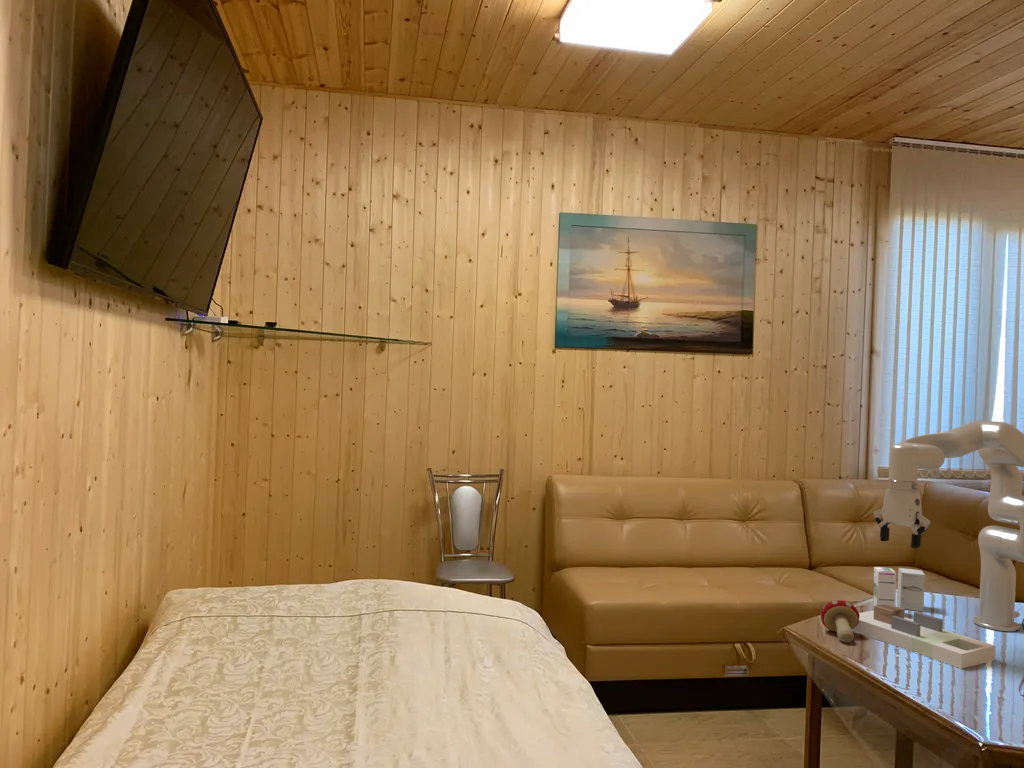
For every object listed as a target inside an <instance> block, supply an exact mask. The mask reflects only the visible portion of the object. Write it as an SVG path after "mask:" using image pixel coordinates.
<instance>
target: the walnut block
mask: <svg viewBox="0 0 1024 768" xmlns="http://www.w3.org/2000/svg"><path fill="white" fill-rule="evenodd" d="M873 610H874V619H875V620H878V621H881V622H884V623H887V624H890V625H891V621H892V616H897V617H900V618H903V619H904V617H905V610H906V609H902V608H899V606H898V607H897V606H896V605H895V606H892V605H889V604H883V605H877V606H874V609H873Z"/></svg>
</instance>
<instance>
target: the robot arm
mask: <svg viewBox="0 0 1024 768" xmlns="http://www.w3.org/2000/svg"><path fill="white" fill-rule="evenodd" d="M976 451H977V452H978V455H979V457H980V458H981V459H982V461H983V462H984V463H985V464H986V466H987V468H988V469H989V474H990V488H989V496H988V505H987V511H988V512H987V513H988V516H989V517H990V518H991V519H992V520H993V521H996V522H1000V523H1005V524H1009V525H1014V526H1019V529H1015V528H1010V527H1006V526H1002V525H1001V526H1000V525H987V526H984V527H983V528H982V529H981V530H980V531H979V533H978V537H977V540H978V541H977V542H978V547H979V554H980V578H979V581H980V583H979V584H980V585H979V605H978V615H975V616H974V617H973V619H972V622H973V623H974V624H976V625H977V626H979V627H982V628H986V629H989V630H993V631H1001V632H1017V631H1016V630H1018V631H1019V630H1020V627H1021V626H1020V624H1019V623H1017V622H1016V621H1015V619H1016V618H1020V617H1021V616H1020V615H1021V614H1020V612H1019V611H1017V610H1016V611H1015V607H1016V601H1015V600H1016V583H1017V582H1016V581H1017V573H1016V568H1015V565H1014V564H1013V563H1014V562H1013V561H1016V562H1020V563H1024V495H1023V483H1024V481H1023V476H1022V473H1021V471H1020V469H1019V468H1018V467H1021V468H1024V432H1022V431H1020V430H1019V429H1018V428H1016V427H1015V426H1013V425H1012V424H1010V423H1007V422H1004V421H993V420H974V421H970V422H968V423H965V424H962V425H961V426H958V427H955V428H952V429H950V430H947V431H946V430H945V431H939V432H935V433H934V432H933V433H928V434H922V435H918V436H917V435H916V436H913V437H910V438H908V439H906V440H902V441H900V442H899V443H895V444H892V445H891V446H890V450H889V461H888V462H889V467H888V469H889V470H888V487H887V489H886V490H885V493H884V497H883V502H882V503H883V504H882V507H881V508H879V509H876V510H874V511H872V513H873V515H874V516H873V517H874V518H875V522H877V524H878V527H879V528H880V530H879V537H880V542H888V541H889V540H890V527H889V526H890V524H892V525H898V526H902V527H903V526H904V527H909V529H910V530H911V531H912V534H911V541H910V542H911V543H910V547H911V549H919V548H920V546H921V542H922V535H923V534H924V533H925V532H926V531H928V528H929V526H930V525H931V520H930V519H928V518H927V517H926V516H924V515H923V510H922V500H921V498H922V497H921V494H920V492H918V490H921V488H922V487H921V485H920V484H918V474H919V473H918V471H919V470H925V471H936V470H938V469H940V468H941V467H943V464H945V461H946V459H953V458H954V459H955V458H961V457H964V456H967V455H968V454H971V453H974V452H976Z"/></svg>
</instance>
